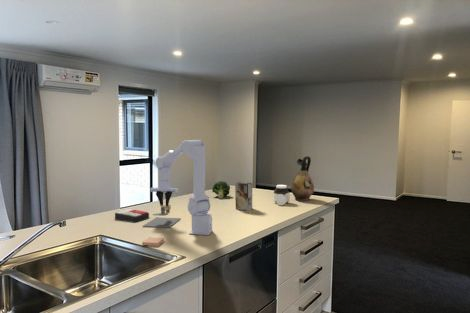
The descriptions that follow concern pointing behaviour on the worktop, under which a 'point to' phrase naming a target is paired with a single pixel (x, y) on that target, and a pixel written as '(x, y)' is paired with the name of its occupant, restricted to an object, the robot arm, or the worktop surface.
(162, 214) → the beige long bar
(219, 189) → the vegetable
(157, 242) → the tile
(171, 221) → the mat
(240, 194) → the coffee box
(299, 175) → the ceramic jug
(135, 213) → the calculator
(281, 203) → the spread jar
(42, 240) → the worktop surface
